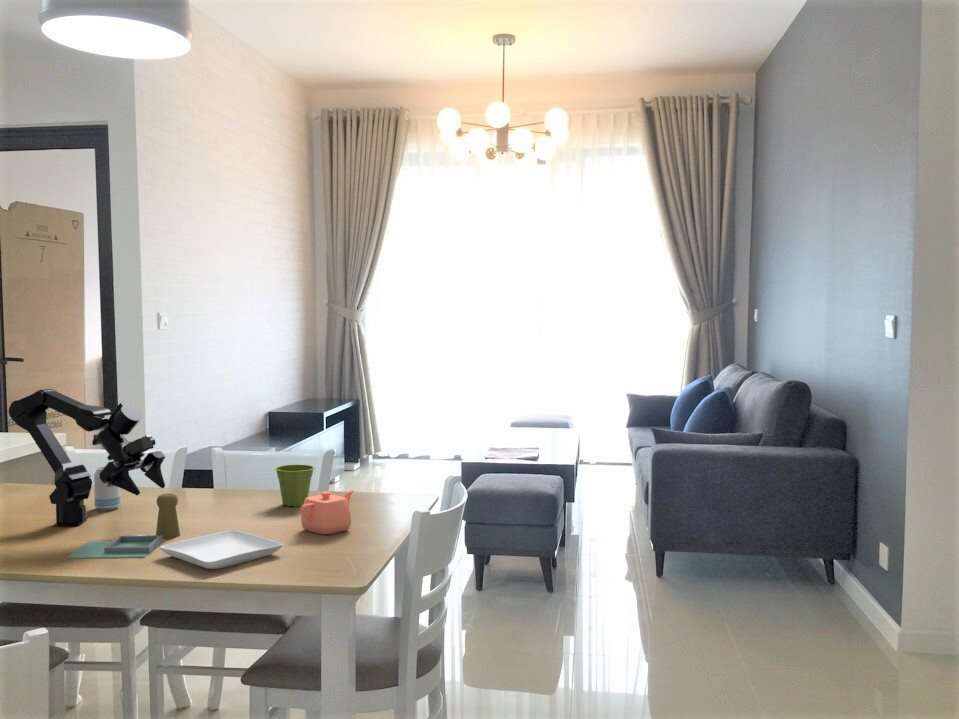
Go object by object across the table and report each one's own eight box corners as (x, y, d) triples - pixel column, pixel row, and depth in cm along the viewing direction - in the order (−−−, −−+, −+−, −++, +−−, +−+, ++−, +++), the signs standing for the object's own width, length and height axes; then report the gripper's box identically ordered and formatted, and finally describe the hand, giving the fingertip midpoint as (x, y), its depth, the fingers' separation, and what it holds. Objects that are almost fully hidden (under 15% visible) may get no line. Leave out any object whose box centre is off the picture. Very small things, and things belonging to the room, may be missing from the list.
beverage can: (107, 512, 247) (106, 471, 247) (89, 510, 250) (88, 469, 249) (125, 507, 254) (124, 467, 253) (107, 505, 256) (106, 465, 256)
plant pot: (321, 505, 257) (321, 468, 257) (283, 510, 251) (283, 472, 250) (305, 498, 267) (305, 462, 266) (269, 503, 260) (268, 466, 260)
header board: (66, 558, 203) (66, 551, 203) (89, 542, 217) (89, 535, 217) (146, 557, 204) (146, 550, 204) (163, 541, 218) (163, 534, 218)
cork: (172, 539, 219) (171, 497, 219) (150, 538, 221) (149, 496, 220) (184, 533, 225) (184, 492, 225) (163, 532, 226) (163, 491, 226)
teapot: (287, 532, 227) (287, 494, 226) (340, 520, 240) (340, 483, 240) (315, 540, 219) (314, 500, 219) (368, 527, 233) (368, 489, 232)
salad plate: (233, 540, 220) (233, 527, 220) (285, 556, 207) (285, 542, 207) (157, 559, 204) (157, 545, 204) (208, 577, 190) (208, 562, 190)
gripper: (106, 430, 216) (142, 477, 213) (158, 421, 233) (192, 464, 230) (83, 459, 219) (118, 505, 216) (136, 448, 237) (169, 491, 234)
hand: (151, 490), depth 224 cm, fingers open, 9 cm apart
